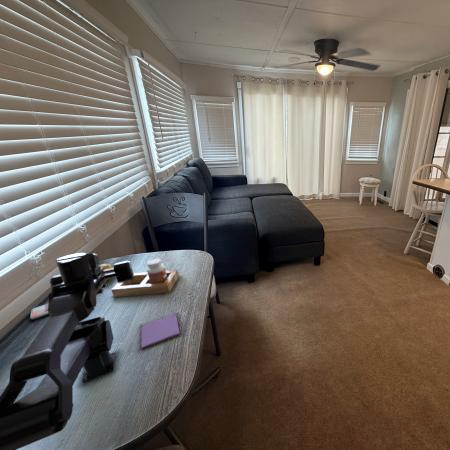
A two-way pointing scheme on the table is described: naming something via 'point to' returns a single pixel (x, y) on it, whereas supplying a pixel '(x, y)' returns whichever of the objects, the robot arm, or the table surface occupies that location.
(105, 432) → the table surface
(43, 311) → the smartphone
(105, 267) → the yellow banana bunch
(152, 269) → the pill bottle
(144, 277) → the bottle rack
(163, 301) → the table surface
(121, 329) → the table surface
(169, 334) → the mat
